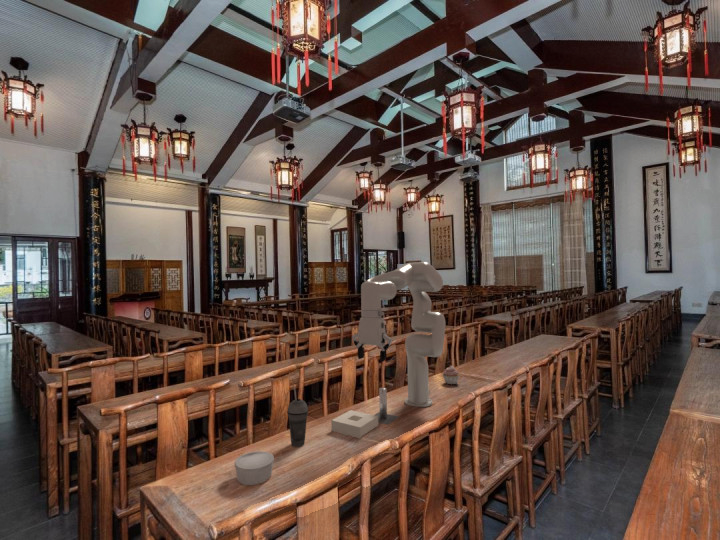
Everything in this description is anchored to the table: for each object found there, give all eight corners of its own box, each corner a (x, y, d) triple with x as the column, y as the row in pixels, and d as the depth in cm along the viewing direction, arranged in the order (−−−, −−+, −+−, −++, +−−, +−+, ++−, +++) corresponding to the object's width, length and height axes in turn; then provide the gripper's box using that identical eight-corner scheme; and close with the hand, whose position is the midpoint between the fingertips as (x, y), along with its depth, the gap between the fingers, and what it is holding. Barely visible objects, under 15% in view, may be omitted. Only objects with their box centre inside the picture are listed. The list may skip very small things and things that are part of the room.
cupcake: (442, 380, 211) (441, 363, 211) (459, 381, 209) (458, 363, 210) (442, 385, 202) (442, 366, 202) (460, 386, 200) (460, 367, 200)
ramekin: (259, 464, 118) (259, 447, 118) (282, 475, 111) (282, 457, 111) (226, 479, 109) (226, 460, 109) (249, 492, 102) (249, 473, 102)
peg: (381, 416, 156) (381, 387, 156) (388, 417, 155) (387, 388, 155) (378, 418, 154) (377, 389, 154) (384, 420, 152) (384, 390, 152)
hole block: (350, 419, 154) (350, 410, 154) (378, 426, 147) (378, 416, 147) (331, 430, 143) (331, 420, 143) (360, 438, 136) (360, 427, 136)
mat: (378, 413, 161) (378, 412, 161) (399, 417, 156) (399, 416, 156) (366, 420, 153) (366, 419, 153) (388, 425, 147) (388, 424, 147)
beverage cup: (304, 449, 127) (303, 390, 128) (284, 448, 129) (283, 389, 129) (311, 440, 134) (310, 384, 135) (292, 439, 136) (291, 383, 136)
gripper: (396, 314, 141) (396, 360, 141) (357, 312, 150) (358, 355, 150) (386, 316, 135) (387, 364, 134) (346, 314, 144) (347, 359, 144)
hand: (371, 359), depth 142 cm, fingers open, 9 cm apart
